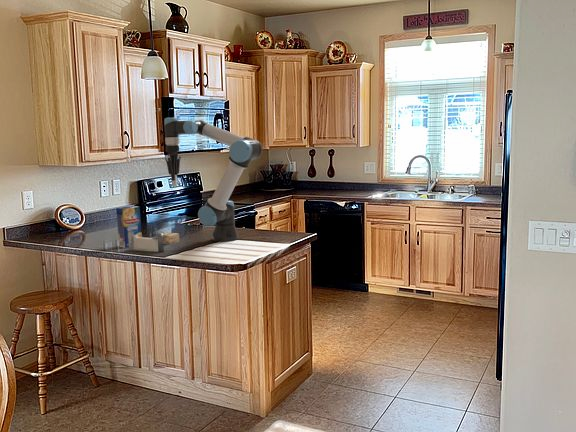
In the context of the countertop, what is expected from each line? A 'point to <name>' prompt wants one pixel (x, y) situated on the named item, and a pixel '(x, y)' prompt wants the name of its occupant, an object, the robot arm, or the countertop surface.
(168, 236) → the oak block
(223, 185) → the robot arm
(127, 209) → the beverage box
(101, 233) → the countertop surface
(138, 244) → the white upright plank
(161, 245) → the posts
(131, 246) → the latch post
